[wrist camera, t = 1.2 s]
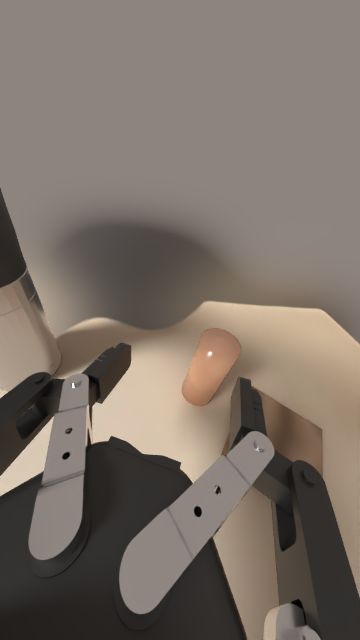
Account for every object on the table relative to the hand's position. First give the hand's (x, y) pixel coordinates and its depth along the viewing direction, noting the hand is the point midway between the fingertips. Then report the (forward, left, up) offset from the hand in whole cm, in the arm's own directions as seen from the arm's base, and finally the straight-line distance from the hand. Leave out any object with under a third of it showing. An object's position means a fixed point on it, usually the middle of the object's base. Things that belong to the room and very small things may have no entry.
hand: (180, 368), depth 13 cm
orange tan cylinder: (+1, +11, -19) cm, 22 cm away
